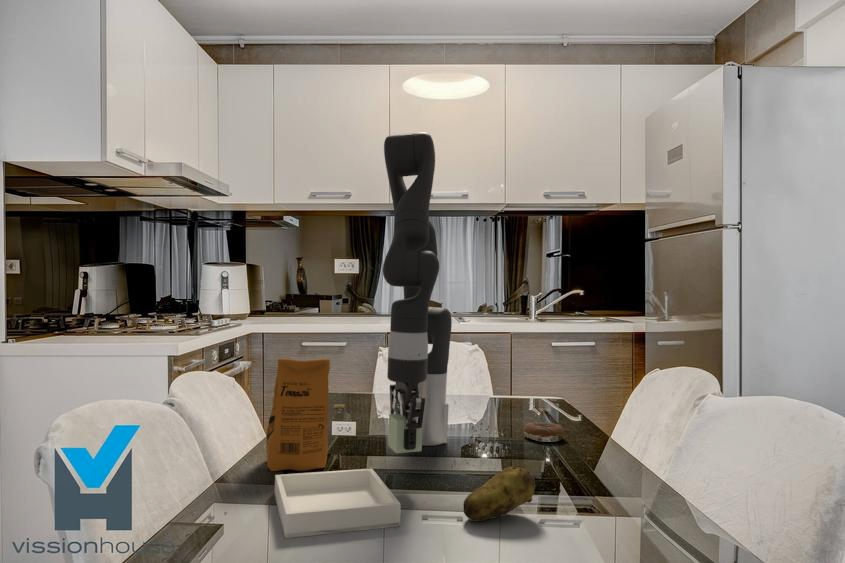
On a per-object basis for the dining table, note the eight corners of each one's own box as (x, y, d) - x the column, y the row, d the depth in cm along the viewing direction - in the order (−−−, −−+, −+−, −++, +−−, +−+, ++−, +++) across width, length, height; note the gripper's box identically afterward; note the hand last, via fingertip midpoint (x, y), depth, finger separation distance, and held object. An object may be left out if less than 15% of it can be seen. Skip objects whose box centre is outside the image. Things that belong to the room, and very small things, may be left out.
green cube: (412, 443, 108) (413, 412, 108) (421, 451, 104) (422, 419, 104) (388, 445, 107) (389, 414, 107) (396, 453, 102) (397, 420, 102)
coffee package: (265, 457, 118) (271, 354, 119) (324, 456, 121) (329, 355, 122) (263, 473, 109) (269, 360, 109) (328, 471, 112) (333, 362, 112)
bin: (371, 487, 104) (372, 468, 104) (399, 526, 87) (400, 503, 87) (274, 494, 98) (275, 474, 98) (285, 538, 81) (286, 514, 81)
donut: (548, 447, 138) (548, 431, 138) (514, 437, 146) (515, 422, 146) (572, 441, 145) (573, 426, 145) (539, 432, 153) (539, 417, 153)
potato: (454, 507, 96) (456, 461, 96) (525, 506, 98) (527, 461, 98) (466, 528, 88) (468, 477, 88) (543, 526, 90) (545, 477, 90)
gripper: (440, 360, 100) (437, 455, 100) (413, 349, 113) (410, 433, 113) (401, 361, 97) (397, 458, 97) (378, 350, 110) (375, 435, 111)
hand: (404, 444), depth 105 cm, fingers closed on green cube, 5 cm apart
